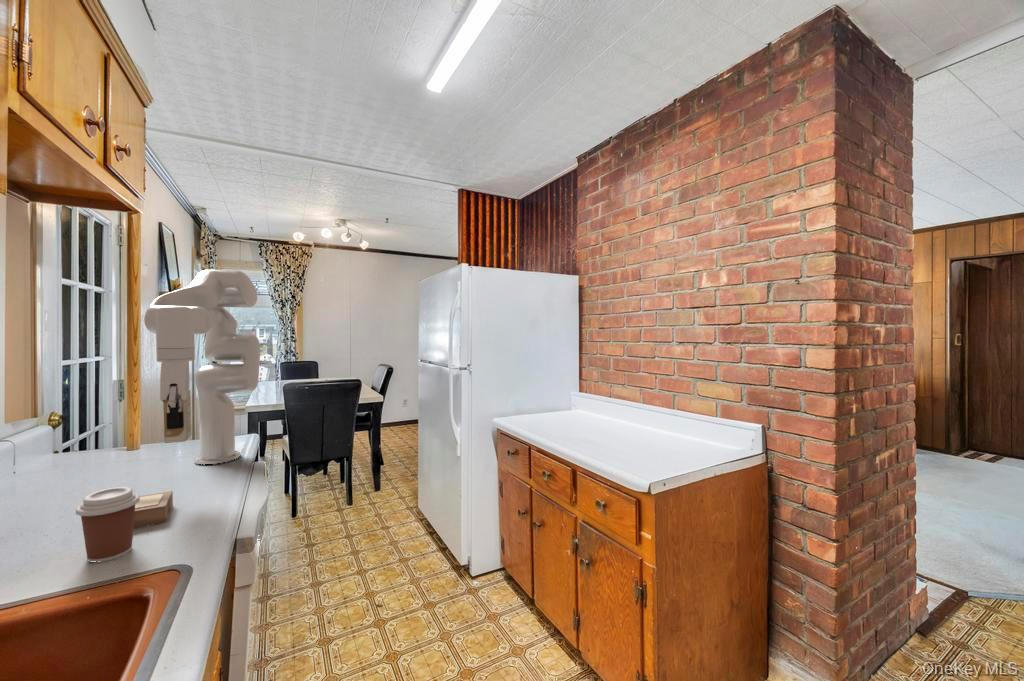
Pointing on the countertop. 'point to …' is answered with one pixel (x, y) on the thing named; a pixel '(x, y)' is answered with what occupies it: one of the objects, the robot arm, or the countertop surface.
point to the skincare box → (184, 432)
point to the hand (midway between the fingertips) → (177, 424)
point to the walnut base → (153, 509)
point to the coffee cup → (108, 522)
